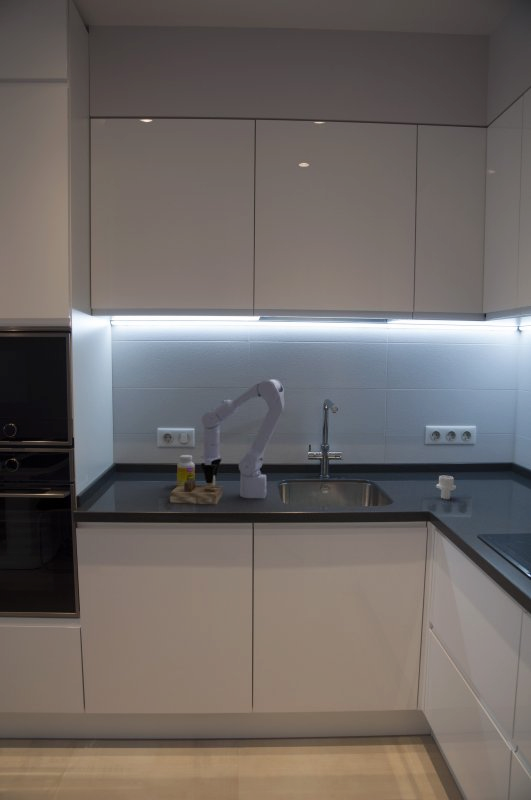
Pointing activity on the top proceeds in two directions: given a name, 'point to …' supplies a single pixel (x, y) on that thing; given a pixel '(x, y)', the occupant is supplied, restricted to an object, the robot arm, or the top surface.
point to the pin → (212, 482)
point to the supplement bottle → (185, 469)
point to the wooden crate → (196, 496)
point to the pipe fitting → (446, 486)
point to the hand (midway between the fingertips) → (211, 480)
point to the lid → (196, 488)
